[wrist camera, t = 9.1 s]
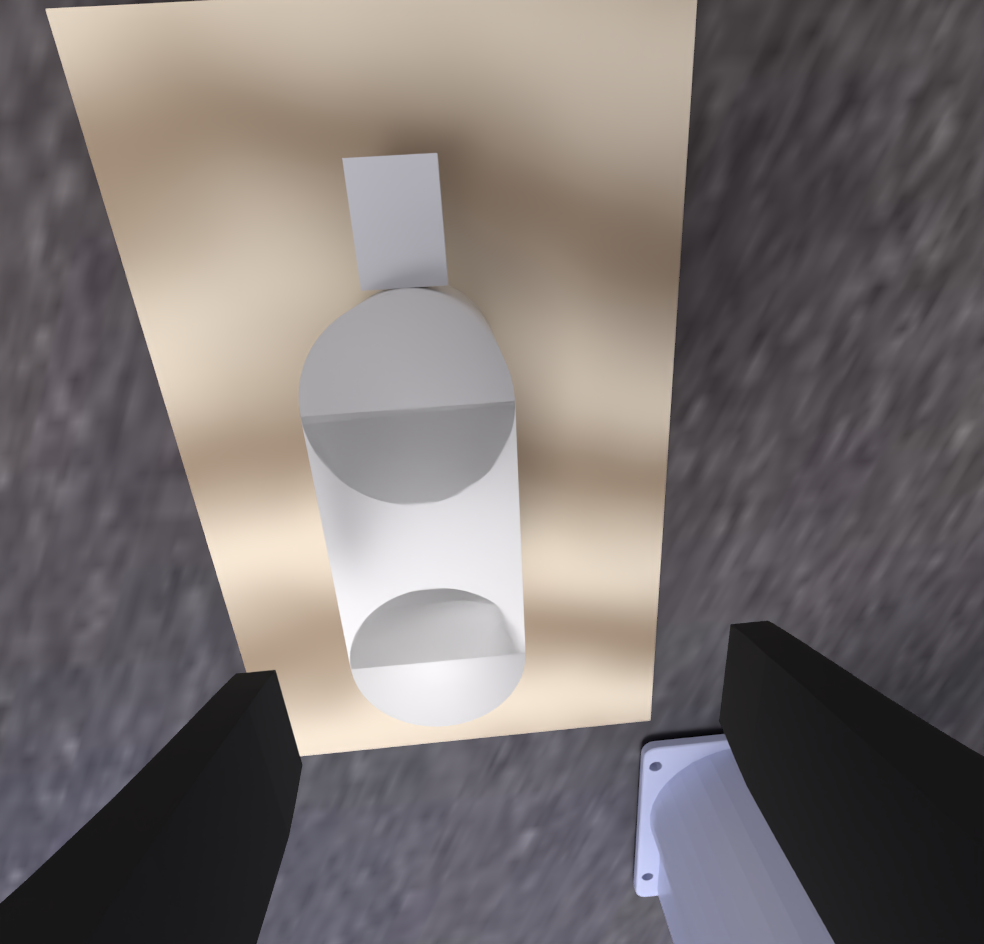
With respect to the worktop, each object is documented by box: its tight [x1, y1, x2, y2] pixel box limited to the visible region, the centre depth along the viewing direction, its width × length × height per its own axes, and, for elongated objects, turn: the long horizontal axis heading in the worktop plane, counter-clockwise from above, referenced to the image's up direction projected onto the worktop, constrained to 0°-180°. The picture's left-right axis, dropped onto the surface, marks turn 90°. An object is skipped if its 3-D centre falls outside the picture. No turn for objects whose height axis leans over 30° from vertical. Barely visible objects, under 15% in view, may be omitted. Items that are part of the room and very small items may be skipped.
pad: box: [46, 0, 697, 756], centre depth 17 cm, size 22×14×1 cm, turn 4°
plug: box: [299, 153, 526, 727], centre depth 13 cm, size 12×4×5 cm, turn 3°
